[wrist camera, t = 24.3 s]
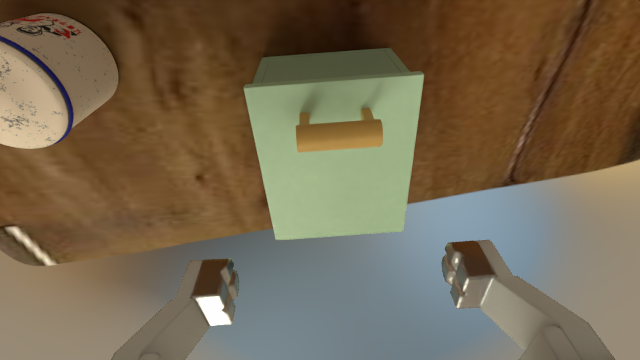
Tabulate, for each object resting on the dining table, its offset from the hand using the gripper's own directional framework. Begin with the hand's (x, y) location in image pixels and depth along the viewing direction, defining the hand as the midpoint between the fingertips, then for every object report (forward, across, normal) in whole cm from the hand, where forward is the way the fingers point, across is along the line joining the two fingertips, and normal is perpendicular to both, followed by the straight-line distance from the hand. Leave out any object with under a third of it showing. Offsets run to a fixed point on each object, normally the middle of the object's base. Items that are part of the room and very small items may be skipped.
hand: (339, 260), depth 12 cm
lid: (+14, -1, +6) cm, 16 cm away
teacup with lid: (+24, +25, -2) cm, 35 cm away
